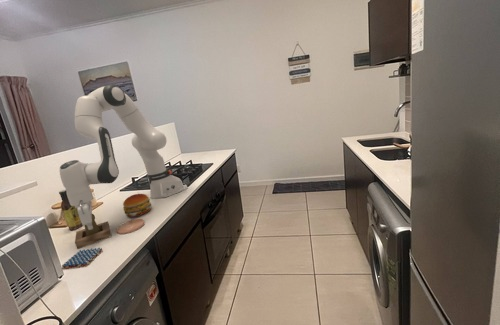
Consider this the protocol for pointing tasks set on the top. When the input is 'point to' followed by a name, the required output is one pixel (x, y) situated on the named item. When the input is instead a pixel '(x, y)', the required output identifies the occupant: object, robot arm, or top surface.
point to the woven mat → (82, 258)
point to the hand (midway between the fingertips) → (91, 226)
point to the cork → (95, 227)
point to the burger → (136, 205)
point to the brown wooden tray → (85, 240)
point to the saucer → (130, 226)
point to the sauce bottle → (69, 212)
